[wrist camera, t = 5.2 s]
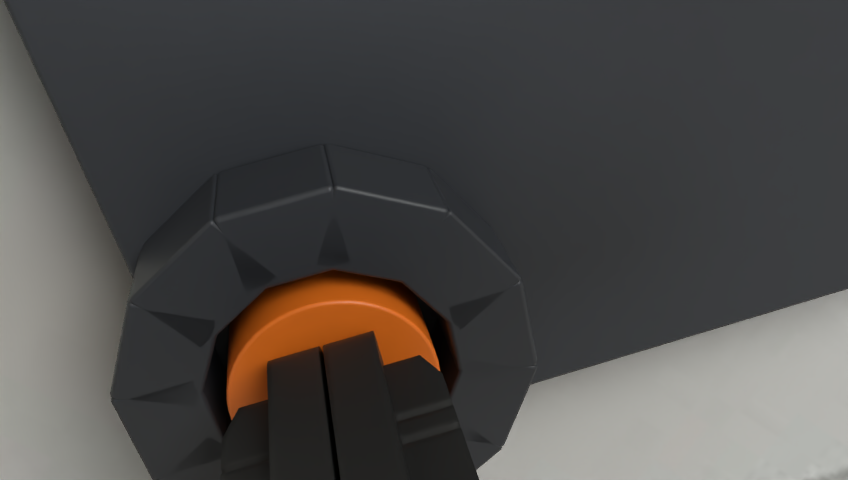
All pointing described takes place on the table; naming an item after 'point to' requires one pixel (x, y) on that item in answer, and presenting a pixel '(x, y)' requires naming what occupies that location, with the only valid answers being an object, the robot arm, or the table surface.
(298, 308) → the button
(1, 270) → the table surface
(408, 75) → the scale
